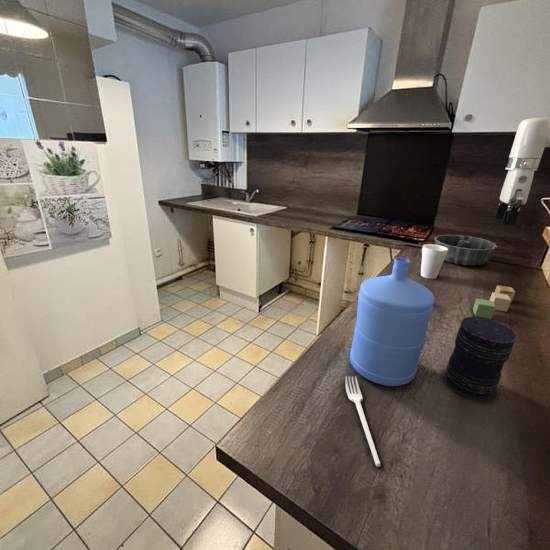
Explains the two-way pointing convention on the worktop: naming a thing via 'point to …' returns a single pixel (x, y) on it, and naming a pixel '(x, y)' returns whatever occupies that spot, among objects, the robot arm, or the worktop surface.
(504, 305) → the beige block
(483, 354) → the dark blue cylinder
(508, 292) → the maple block
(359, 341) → the water jug
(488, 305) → the sage block
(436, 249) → the foam cup
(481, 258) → the bundt pan
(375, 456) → the fork
